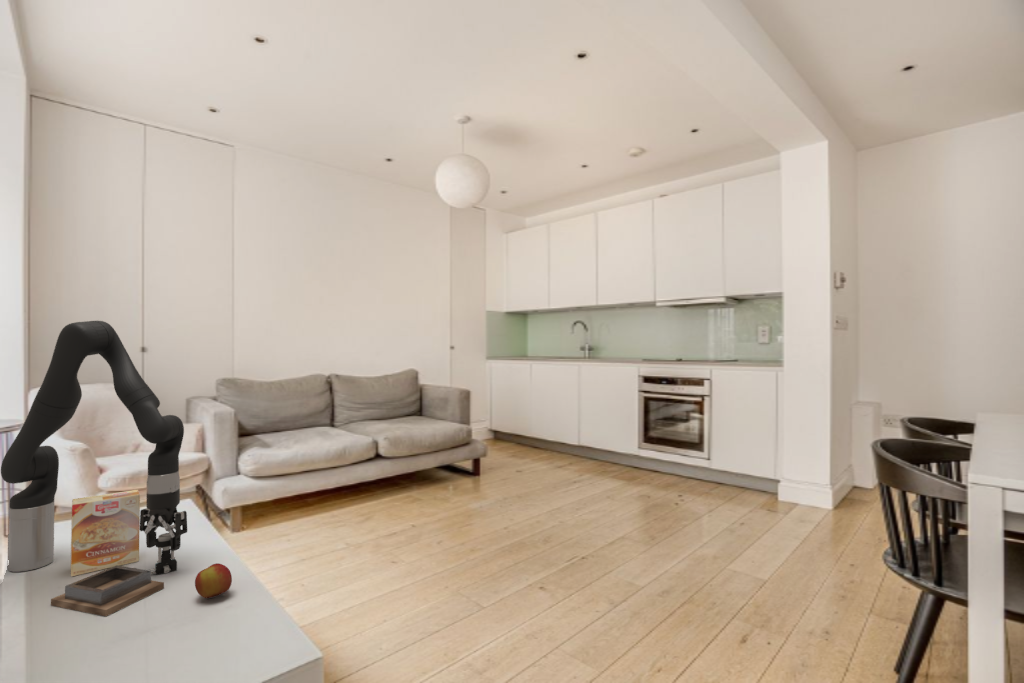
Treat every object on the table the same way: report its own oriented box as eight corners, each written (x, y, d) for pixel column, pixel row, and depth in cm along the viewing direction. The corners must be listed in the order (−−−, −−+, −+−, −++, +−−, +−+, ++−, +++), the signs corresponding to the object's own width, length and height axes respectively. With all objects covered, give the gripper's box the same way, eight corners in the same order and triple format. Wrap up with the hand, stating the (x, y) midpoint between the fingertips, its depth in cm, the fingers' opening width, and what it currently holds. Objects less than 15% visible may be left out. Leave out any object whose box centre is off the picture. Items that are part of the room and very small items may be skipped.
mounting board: (50, 605, 119) (50, 599, 119) (112, 579, 133) (112, 573, 133) (105, 616, 114) (106, 610, 114) (163, 588, 128) (163, 582, 128)
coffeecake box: (70, 577, 134) (71, 504, 134) (70, 568, 139) (71, 498, 140) (139, 561, 144) (140, 493, 144) (137, 554, 149) (138, 488, 149)
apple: (225, 586, 129) (226, 555, 129) (235, 597, 123) (235, 564, 123) (191, 596, 123) (191, 564, 124) (199, 608, 118) (200, 574, 118)
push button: (149, 579, 133) (149, 541, 133) (146, 572, 137) (147, 536, 137) (179, 571, 137) (179, 535, 137) (175, 565, 141) (176, 530, 141)
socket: (64, 598, 119) (65, 586, 119) (116, 576, 131) (116, 565, 131) (101, 605, 116) (101, 592, 116) (150, 582, 128) (151, 570, 128)
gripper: (130, 490, 135) (130, 551, 135) (170, 494, 131) (170, 556, 131) (157, 483, 143) (156, 540, 142) (195, 487, 139) (195, 545, 138)
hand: (163, 548), depth 137 cm, fingers open, 8 cm apart
